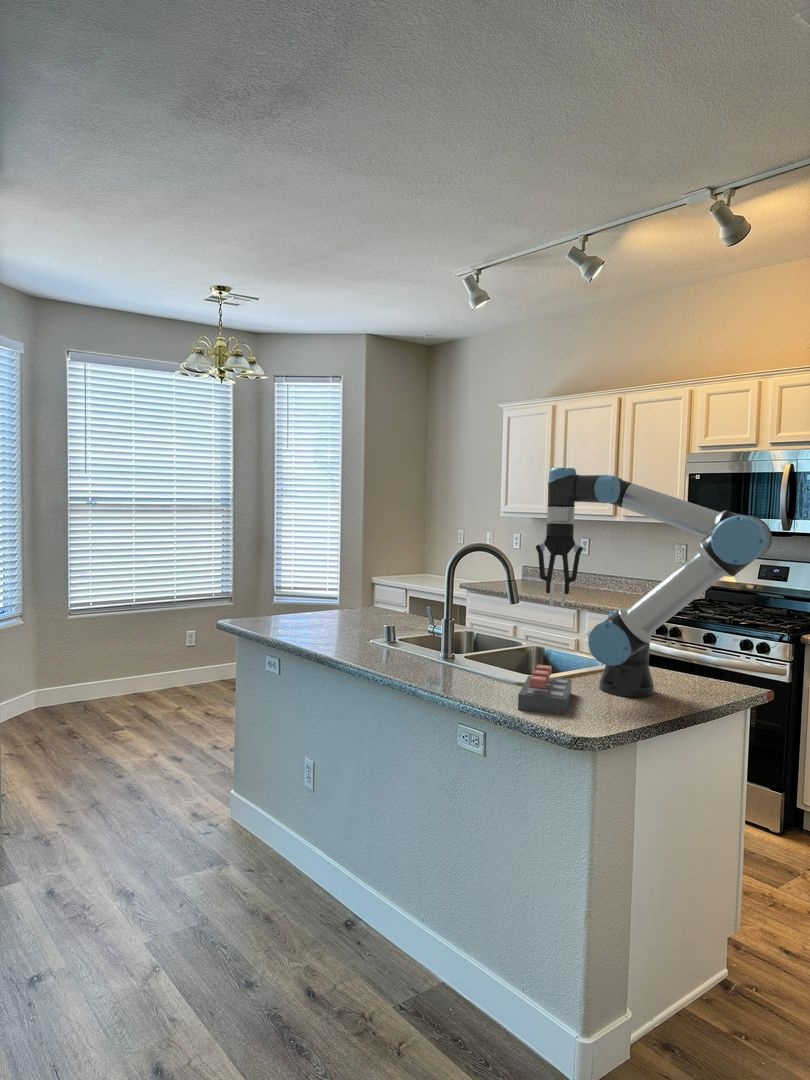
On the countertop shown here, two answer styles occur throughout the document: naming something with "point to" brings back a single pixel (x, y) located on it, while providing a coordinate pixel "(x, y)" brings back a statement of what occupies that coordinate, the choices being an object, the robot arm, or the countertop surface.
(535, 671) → the button
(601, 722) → the countertop surface
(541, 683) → the button
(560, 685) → the dark grey flat block
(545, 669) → the button
